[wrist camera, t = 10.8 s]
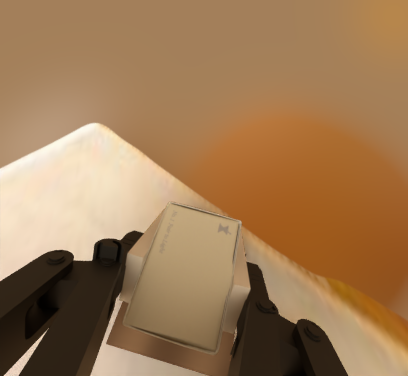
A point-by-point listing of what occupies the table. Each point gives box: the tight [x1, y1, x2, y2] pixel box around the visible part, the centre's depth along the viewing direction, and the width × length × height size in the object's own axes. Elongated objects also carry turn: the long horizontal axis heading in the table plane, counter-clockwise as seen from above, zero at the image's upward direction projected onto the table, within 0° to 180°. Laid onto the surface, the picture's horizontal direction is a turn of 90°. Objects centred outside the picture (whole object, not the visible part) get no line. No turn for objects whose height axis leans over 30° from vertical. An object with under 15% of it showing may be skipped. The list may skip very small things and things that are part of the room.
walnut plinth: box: [106, 254, 246, 376], centre depth 25 cm, size 12×12×5 cm
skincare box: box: [122, 202, 242, 355], centre depth 15 cm, size 6×4×12 cm
